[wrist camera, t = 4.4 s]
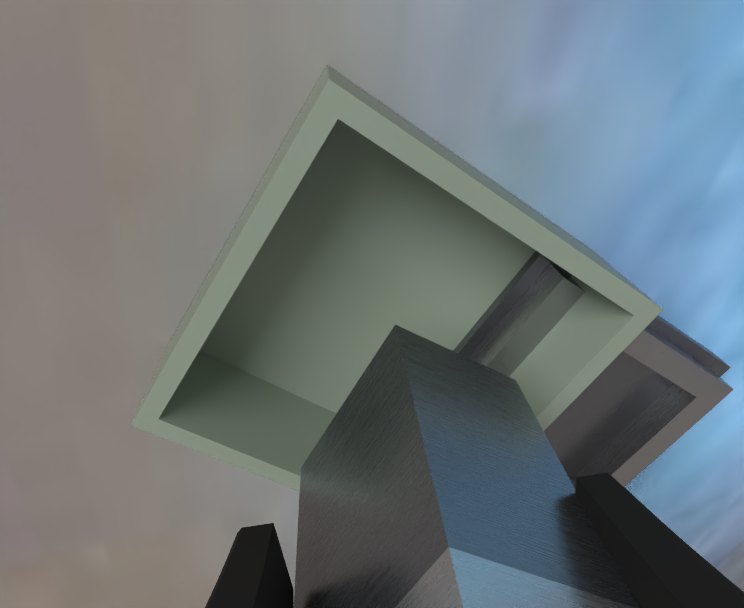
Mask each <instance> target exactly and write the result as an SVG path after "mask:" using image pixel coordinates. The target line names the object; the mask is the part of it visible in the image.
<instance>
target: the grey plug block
mask: <svg viewBox="0 0 744 608" xmlns="http://www.w3.org/2000/svg"><path fill="white" fill-rule="evenodd" d="M294 608H639V606H638V604H637V602H636V600H635V599H634V597H633V595H632V593H631V591H630V589H629V588H628V586H627V584H626V582H625V580H624V578H623V576H622V575H621V573H620V571H619V569H618V567H617V565H616V564H615V562H614V561H613V559H612V557H611V556H610V554H609V552H608V551H607V549H606V548H605V546H604V544H603V543H602V541H601V539H600V538H599V536H598V534H597V532H596V530H595V529H594V527H593V525H592V523H591V521H590V519H589V518H588V516H587V514H586V512H585V510H584V508H583V506H582V505H581V503H580V501H579V499H578V497H577V495H576V494H575V488H574V486H573V484H572V482H571V481H570V479H569V477H568V475H567V473H566V471H565V470H564V468H563V466H562V464H561V462H560V460H559V459H558V457H557V455H556V453H555V451H554V449H553V447H552V446H551V444H550V442H549V440H548V438H547V436H546V435H545V433H544V431H543V429H542V427H541V425H540V424H539V422H538V420H537V418H536V416H535V414H534V412H533V411H532V409H531V407H530V405H529V403H528V401H527V400H526V398H525V396H524V394H523V392H522V390H521V389H520V387H519V385H518V383H517V381H516V380H515V379H513V378H511V377H508V376H506V375H504V374H502V373H500V372H498V371H495V370H493V369H491V368H489V367H487V366H485V365H482V364H480V363H478V362H476V361H474V360H471V359H469V358H467V357H465V356H463V355H461V354H458V353H456V352H454V351H452V350H450V349H448V348H445V347H443V346H441V345H439V344H437V343H434V342H432V341H430V340H428V339H426V338H424V337H421V336H419V335H417V334H415V333H413V332H411V331H408V330H406V329H404V328H402V327H400V326H398V325H395V326H394V327H393V329H392V330H391V332H390V333H389V335H388V336H387V338H386V339H385V341H384V342H383V344H382V345H381V347H380V348H379V350H378V351H377V353H376V354H375V356H374V357H373V359H372V360H371V362H370V364H369V365H368V367H367V368H366V370H365V371H364V373H363V374H362V376H361V377H360V379H359V380H358V382H357V383H356V385H355V386H354V388H353V389H352V391H351V392H350V394H349V395H348V397H347V398H346V400H345V402H344V403H343V405H342V406H341V408H340V409H339V411H338V412H337V414H336V415H335V417H334V418H333V420H332V421H331V423H330V424H329V426H328V427H327V429H326V430H325V432H324V433H323V435H322V436H321V438H320V440H319V441H318V443H317V444H316V446H315V447H314V449H313V450H312V452H311V453H310V455H309V456H308V458H307V459H306V461H305V462H304V464H303V465H302V467H301V477H300V497H299V517H298V537H297V556H296V576H295V596H294Z"/></svg>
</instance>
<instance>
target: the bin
mask: <svg viewBox="0 0 744 608" xmlns="http://www.w3.org/2000/svg"><path fill="white" fill-rule="evenodd" d="M535 251H538V252H539V253H541V254H542V255H544V256H545V257H547V258H548V259H550V260H551V261H553V262H554V263H556V264H557V265H559V266H560V267H562V268H563V269H565V270H566V271H568V272H569V273H571V274H572V276H571V278H572V279H573V280H574V281H575V282H576V283H577V284H578V285H579V286H580V287H581V288H582V289H583V290H584V291H585V293H584V294H583V295H582V296H581V298H580V299H579V300H578V301H577V302H576V303H575V304H574V305H573V306H572V307H571V309H570V310H569V311H568V312H567V313H566V314H565V315H564V316H563V317H562V319H561V320H560V321H559V322H558V323H557V324H556V325H555V326H554V327H553V329H552V330H551V331H550V332H549V333H548V334H547V335H546V336H545V337H544V339H543V340H542V341H541V342H540V343H539V344H538V345H537V346H536V347H535V349H534V350H533V351H532V352H531V353H530V354H529V355H528V356H527V357H526V359H525V360H524V361H523V362H522V363H521V364H520V365H519V366H518V367H517V369H516V370H515V371H514V372H513V373H512V374H511V375H510V376H509V377H511V378H513V379H515V380H516V381H517V383H518V385H519V387H520V389H521V390H522V392H523V394H524V396H525V398H526V400H527V401H528V403H529V405H530V407H531V409H532V411H533V412H534V414H535V416H536V418H537V420H538V422H539V424H540V425H541V427H542V429H543V431H544V430H545V429H546V428H547V427H548V426H549V425H550V424H551V423H552V422H553V421H554V420H555V419H556V418H557V417H558V416H559V415H560V414H561V413H562V412H563V411H564V410H565V409H566V408H567V407H568V406H569V405H570V404H571V403H572V402H573V401H574V400H575V399H576V398H577V397H578V396H579V395H580V394H581V393H582V392H583V391H584V390H585V389H586V388H587V387H588V386H589V385H590V384H591V383H592V382H593V381H594V380H595V379H596V378H597V376H598V375H599V374H600V373H601V372H602V371H603V370H604V369H605V368H606V367H607V366H608V365H609V364H610V363H611V362H612V361H613V360H614V359H615V358H616V357H617V356H618V355H619V354H620V353H621V352H622V351H623V350H624V349H625V348H626V347H627V346H628V345H629V344H630V343H631V342H632V341H633V340H634V339H635V338H636V337H637V336H638V335H639V334H640V333H641V332H642V331H643V330H644V329H645V328H646V327H647V326H648V325H649V324H650V323H651V322H652V321H653V320H654V319H655V318H656V316H657V315H658V314H659V313H660V312H661V311H662V310H663V309H662V308H661V307H660V306H659V305H657V304H656V303H655V302H654V301H653V300H651V299H650V298H649V297H648V296H647V295H645V294H644V293H643V292H642V291H641V290H639V289H638V288H637V287H636V286H635V285H633V284H632V283H631V282H630V281H629V280H627V279H626V278H625V277H624V276H623V275H621V274H620V273H619V272H618V271H617V270H615V269H614V268H613V267H612V266H611V265H609V264H608V263H607V262H606V261H605V260H603V259H602V258H601V257H600V256H599V255H598V254H596V253H595V252H594V251H593V250H592V249H590V248H589V247H587V246H586V245H584V244H583V243H582V242H580V241H579V240H577V239H576V238H574V237H573V236H571V235H570V234H569V233H567V232H566V231H564V230H563V229H561V228H560V227H559V226H557V225H556V224H554V223H553V222H551V221H550V220H549V219H547V218H546V217H544V216H543V215H541V214H540V213H539V212H537V211H536V210H534V209H533V208H531V207H530V206H529V205H527V204H526V203H524V202H523V201H521V200H520V199H519V198H517V197H516V196H514V195H513V194H511V193H510V192H509V191H507V190H506V189H504V188H503V187H501V186H500V185H499V184H497V183H496V182H494V181H493V180H491V179H490V178H488V177H487V176H486V175H484V174H483V173H481V172H480V171H478V170H477V169H476V168H474V167H473V166H471V165H470V164H468V163H467V162H466V161H464V160H463V159H461V158H460V157H458V156H457V155H456V154H454V153H453V152H451V151H450V150H448V149H447V148H446V147H444V146H443V145H441V144H440V143H438V142H437V141H436V140H434V139H433V138H431V137H430V136H428V135H427V134H426V133H424V132H423V131H421V130H420V129H418V128H417V127H415V126H414V125H413V124H411V123H410V122H408V121H407V120H405V119H404V118H403V117H401V116H400V115H398V114H397V113H395V112H394V111H393V110H391V109H390V108H388V107H387V106H385V105H384V104H383V103H381V102H380V101H378V100H377V99H375V98H374V97H373V96H371V95H370V94H368V93H367V92H365V91H364V90H363V89H361V88H360V87H358V86H357V85H355V84H354V83H353V82H351V81H350V80H348V79H347V78H345V77H344V76H342V75H341V74H340V73H338V72H337V71H335V70H334V69H332V68H331V67H330V66H328V65H327V66H326V68H325V70H324V72H323V73H322V75H321V77H320V79H319V80H318V82H317V84H316V86H315V87H314V89H313V91H312V93H311V95H310V96H309V98H308V100H307V102H306V103H305V105H304V107H303V109H302V110H301V112H300V114H299V116H298V117H297V119H296V121H295V123H294V124H293V126H292V128H291V130H290V132H289V133H288V135H287V137H286V139H285V140H284V142H283V144H282V146H281V147H280V149H279V151H278V153H277V154H276V156H275V158H274V160H273V162H272V163H271V165H270V167H269V169H268V170H267V172H266V174H265V176H264V177H263V179H262V181H261V183H260V184H259V186H258V188H257V190H256V191H255V193H254V195H253V197H252V199H251V200H250V202H249V204H248V206H247V207H246V209H245V211H244V213H243V214H242V216H241V218H240V220H239V221H238V223H237V225H236V227H235V229H234V230H233V232H232V234H231V236H230V237H229V239H228V241H227V243H226V244H225V246H224V248H223V250H222V251H221V253H220V255H219V257H218V258H217V260H216V262H215V264H214V266H213V267H212V269H211V271H210V273H209V274H208V276H207V278H206V280H205V281H204V283H203V285H202V287H201V288H200V290H199V292H198V294H197V296H196V297H195V299H194V301H193V303H192V304H191V306H190V308H189V310H188V311H187V313H186V315H185V317H184V318H183V320H182V322H181V324H180V325H179V327H178V329H177V331H176V333H175V334H174V336H173V338H172V340H171V341H170V343H169V345H168V347H167V350H166V352H165V354H164V356H163V358H162V360H161V362H160V364H159V366H158V368H157V370H156V373H155V375H154V377H153V379H152V381H151V383H150V385H149V387H148V389H147V391H146V393H145V396H144V398H143V400H142V402H141V404H140V406H139V408H138V410H137V412H136V414H135V416H134V419H133V421H132V423H131V426H133V427H136V428H139V429H141V430H144V431H146V432H149V433H151V434H154V435H156V436H159V437H162V438H164V439H167V440H169V441H172V442H174V443H177V444H180V445H182V446H185V447H187V448H190V449H192V450H195V451H197V452H200V453H203V454H205V455H208V456H210V457H213V458H215V459H218V460H221V461H223V462H226V463H228V464H231V465H233V466H236V467H238V468H241V469H244V470H246V471H249V472H251V473H254V474H256V475H259V476H262V477H264V478H267V479H269V480H272V481H274V482H277V483H279V484H282V485H285V486H287V487H290V488H292V489H295V490H297V491H300V477H301V467H302V465H303V464H304V462H305V461H306V459H307V458H308V456H309V455H310V453H311V452H312V450H313V449H314V447H315V446H316V444H317V443H318V441H319V440H320V438H321V436H322V435H323V433H324V432H325V430H326V429H327V427H328V426H329V424H330V423H331V421H332V420H333V418H334V417H335V415H336V414H337V412H338V411H339V409H340V408H341V406H342V405H343V403H344V402H345V400H346V398H347V397H348V395H349V394H350V392H351V391H352V389H353V388H354V386H355V385H356V383H357V382H358V380H359V379H360V377H361V376H362V374H363V373H364V371H365V370H366V368H367V367H368V365H369V364H370V362H371V360H372V359H373V357H374V356H375V354H376V353H377V351H378V350H379V348H380V347H381V345H382V344H383V342H384V341H385V339H386V338H387V336H388V335H389V333H390V332H391V330H392V329H393V327H394V326H395V325H398V326H400V327H402V328H404V329H406V330H408V331H411V332H413V333H415V334H417V335H419V336H421V337H424V338H426V339H428V340H430V341H432V342H434V343H437V344H439V345H441V346H443V347H445V348H448V349H450V350H452V351H453V350H454V349H455V348H456V346H457V345H458V344H459V343H460V342H461V340H462V339H463V338H464V337H465V336H466V334H467V333H468V332H469V331H470V330H471V328H472V327H473V326H474V325H475V324H476V322H477V321H478V320H479V319H480V317H481V316H482V315H483V314H484V313H485V311H486V310H487V309H488V308H489V307H490V305H491V304H492V303H493V302H494V301H495V299H496V298H497V297H498V296H499V295H500V293H501V292H502V291H503V290H504V289H505V287H506V286H507V285H508V284H509V282H510V281H511V280H512V279H513V278H514V276H515V275H516V274H517V273H518V272H519V270H520V269H521V268H522V267H523V266H524V264H525V263H526V262H527V261H528V260H529V258H530V257H531V256H532V255H533V254H534V252H535Z"/></svg>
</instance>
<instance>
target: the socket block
mask: <svg viewBox="0 0 744 608" xmlns="http://www.w3.org/2000/svg"><path fill="white" fill-rule="evenodd" d="M571 276H572V274H571V273H569V272H568V271H566V270H565V269H563V268H562V267H560V266H559V265H557V264H556V263H554V262H553V261H551V260H550V259H548V258H547V257H545V256H544V255H542V254H541V253H539V252H538V251H535V252H534V254H533V255H532V256H531V257H530V258H529V260H528V261H527V262H526V263H525V264H524V266H523V267H522V268H521V269H520V270H519V272H518V273H517V274H516V275H515V276H514V278H513V279H512V280H511V281H510V282H509V284H508V285H507V286H506V287H505V289H504V290H503V291H502V292H501V293H500V295H499V296H498V297H497V298H496V299H495V301H494V302H493V303H492V304H491V305H490V307H489V308H488V309H487V310H486V311H485V313H484V314H483V315H482V316H481V317H480V319H479V320H478V321H477V322H476V324H475V325H474V326H473V327H472V328H471V330H470V331H469V332H468V333H467V334H466V336H465V337H464V338H463V339H462V340H461V342H460V343H459V344H458V345H457V346H456V348H455V349H454V350H453V351H454V352H456V353H458V354H461V355H463V356H465V357H467V358H469V359H471V360H474V361H476V362H478V363H480V364H482V365H485V366H487V367H489V368H491V369H493V370H495V371H498V372H500V373H502V374H504V375H506V376H508V377H509V376H510V375H511V374H512V373H513V372H514V371H515V370H516V369H517V367H518V366H519V365H520V364H521V363H522V362H523V361H524V360H525V359H526V357H527V356H528V355H529V354H530V353H531V352H532V351H533V350H534V349H535V347H536V346H537V345H538V344H539V343H540V342H541V341H542V340H543V339H544V337H545V336H546V335H547V334H548V333H549V332H550V331H551V330H552V329H553V327H554V326H555V325H556V324H557V323H558V322H559V321H560V320H561V319H562V317H563V316H564V315H565V314H566V313H567V312H568V311H569V310H570V309H571V307H572V306H573V305H574V304H575V303H576V302H577V301H578V300H579V299H580V298H581V296H582V295H583V294H584V293H585V291H584V290H583V289H582V288H581V287H580V286H579V285H578V284H577V283H576V282H575V281H574V280H573V279H572V278H571ZM729 368H730V367H729V366H728V365H727V364H726V363H725V362H724V361H722V360H721V359H720V358H719V357H718V356H716V355H715V354H714V353H712V352H711V351H710V350H708V349H707V348H705V347H704V346H702V345H701V344H699V343H698V342H696V341H695V340H693V339H692V338H690V337H689V336H687V335H686V334H685V333H683V332H682V331H680V330H679V329H677V328H676V327H674V326H673V325H671V324H670V323H668V322H667V321H665V320H664V319H663V318H661V317H660V316H658V315H657V316H656V318H655V319H654V320H653V321H652V322H651V323H650V324H649V325H648V326H647V327H646V328H645V329H644V330H643V331H642V332H641V333H640V334H639V335H638V336H637V337H636V338H635V339H634V340H633V341H632V342H631V343H630V344H629V345H628V346H627V347H626V348H625V349H624V350H623V351H622V352H621V353H620V354H619V355H618V356H617V357H616V358H615V359H614V360H613V361H612V362H611V363H610V364H609V365H608V366H607V367H606V368H605V369H604V370H603V371H602V372H601V373H600V374H599V375H598V376H597V378H596V379H595V380H594V381H593V382H592V383H591V384H590V385H589V386H588V387H587V388H586V389H585V390H584V391H583V392H582V393H581V394H580V395H579V396H578V397H577V398H576V399H575V400H574V401H573V402H572V403H571V404H570V405H569V406H568V407H567V408H566V409H565V410H564V411H563V412H562V413H561V414H560V415H559V416H558V417H557V418H556V419H555V420H554V421H553V422H552V423H551V424H550V425H549V426H548V427H547V428H546V429H545V430H544V433H545V435H546V436H547V438H548V440H549V442H550V444H551V446H552V447H553V449H554V451H555V453H556V455H557V457H558V459H559V460H560V462H561V464H562V466H563V468H564V470H565V471H566V473H567V475H568V477H569V479H570V481H571V482H572V484H573V486H574V488H575V489H576V479H577V477H581V476H588V475H595V474H601V473H609V474H610V475H611V476H613V477H614V478H615V479H616V480H617V481H618V482H619V483H620V484H621V485H622V486H623V487H624V486H626V485H627V484H628V483H629V482H630V481H631V480H632V479H633V478H635V477H636V476H637V475H638V474H639V473H640V472H641V471H642V470H644V469H645V468H646V467H647V466H648V465H649V464H650V463H651V462H653V461H654V460H655V459H656V458H657V457H658V456H659V455H660V454H662V453H663V452H664V451H665V450H666V449H667V448H668V447H669V446H671V445H672V444H673V443H674V442H675V441H676V440H677V439H678V438H680V437H681V436H682V435H683V434H684V433H685V432H686V431H687V430H689V429H690V428H691V427H692V426H693V425H694V424H695V423H696V422H698V421H699V420H700V419H701V418H702V417H703V416H704V415H705V414H707V413H708V412H709V411H710V410H711V409H712V408H713V407H714V406H716V405H717V404H718V403H719V402H720V401H721V400H722V399H723V398H725V397H726V396H727V395H728V394H729V393H730V392H731V391H732V390H733V388H731V387H730V386H729V385H728V384H727V383H726V382H725V381H724V380H722V379H721V378H720V376H722V375H723V374H724V373H725V372H726V371H727V370H728V369H729Z"/></svg>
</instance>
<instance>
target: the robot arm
mask: <svg viewBox="0 0 744 608" xmlns="http://www.w3.org/2000/svg"><path fill="white" fill-rule="evenodd" d="M575 494H576V495H577V497H578V499H579V501H580V503H581V505H582V506H583V508H584V510H585V512H586V514H587V516H588V518H589V519H590V521H591V523H592V525H593V527H594V529H595V530H596V532H597V534H598V536H599V538H600V539H601V541H602V543H603V544H604V546H605V548H606V549H607V551H608V552H609V554H610V556H611V557H612V559H613V561H614V562H615V564H616V565H617V567H618V569H619V571H620V573H621V575H622V576H623V578H624V580H625V582H626V584H627V586H628V588H629V589H630V591H631V593H632V595H633V597H634V599H635V600H636V602H637V604H638V606H639V608H744V592H743V591H742V590H741V589H740V588H738V587H737V586H736V585H735V584H733V583H732V582H731V581H730V580H729V579H727V578H726V577H725V576H724V575H723V574H721V573H720V572H719V571H718V570H717V569H716V568H714V567H713V566H712V565H711V564H710V563H708V562H707V561H706V560H705V559H704V558H703V557H701V556H700V555H699V554H698V553H697V552H696V551H694V550H693V549H692V548H691V547H690V546H689V545H687V544H686V543H685V542H684V541H683V540H682V539H681V538H679V537H678V536H677V535H676V534H675V533H674V532H673V531H672V530H670V529H669V528H668V527H667V526H666V525H665V524H664V523H663V522H662V521H660V520H659V519H658V518H657V517H656V516H655V515H654V514H653V513H652V512H651V511H649V510H648V509H647V508H646V507H645V506H644V505H643V504H642V503H641V502H640V501H639V500H637V499H636V498H635V497H634V496H633V495H632V494H631V493H630V492H629V491H628V490H627V489H626V488H625V487H623V486H622V485H621V484H620V483H619V482H618V481H617V480H616V479H615V478H614V477H613V476H611V475H610V474H609V473H601V474H595V475H588V476H581V477H577V479H576V489H575ZM205 608H293V587H292V583H291V580H290V577H289V573H288V570H287V567H286V563H285V560H284V557H283V553H282V550H281V547H280V543H279V540H278V537H277V533H276V530H275V527H274V523H271V524H264V525H257V526H251V527H244V528H241V529H240V531H239V532H238V533H237V535H236V538H235V540H234V543H233V545H232V548H231V550H230V553H229V555H228V557H227V560H226V562H225V565H224V567H223V569H222V572H221V574H220V576H219V578H218V581H217V583H216V585H215V587H214V589H213V592H212V594H211V596H210V598H209V600H208V602H207V605H206V607H205Z"/></svg>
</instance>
